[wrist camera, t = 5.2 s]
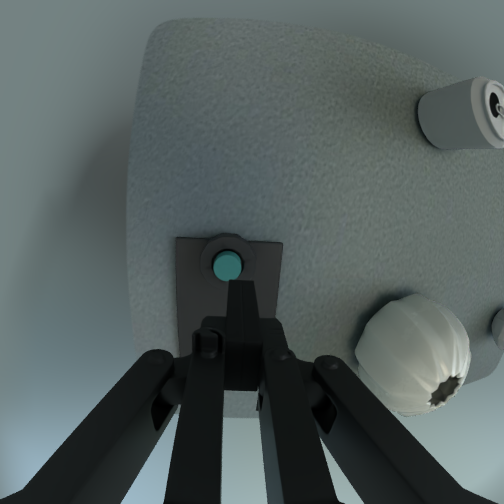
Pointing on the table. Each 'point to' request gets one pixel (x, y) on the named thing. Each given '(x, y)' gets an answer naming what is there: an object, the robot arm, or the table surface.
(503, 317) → the apple
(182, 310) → the scale
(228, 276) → the button
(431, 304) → the vase
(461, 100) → the can
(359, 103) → the table surface
